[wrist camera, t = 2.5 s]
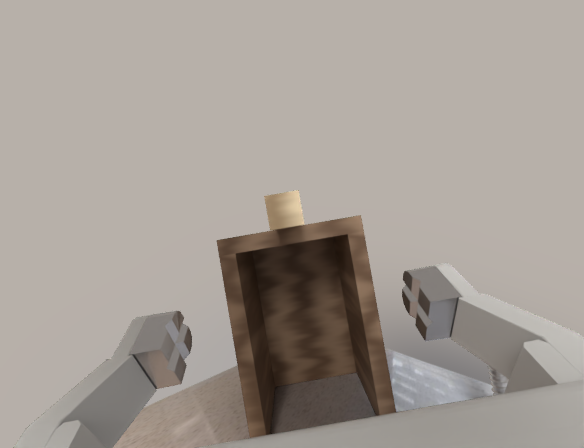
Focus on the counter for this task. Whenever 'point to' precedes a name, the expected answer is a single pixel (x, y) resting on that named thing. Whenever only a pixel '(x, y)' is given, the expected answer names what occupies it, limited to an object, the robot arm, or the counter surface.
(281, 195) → the tan wooden bar
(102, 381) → the robot arm
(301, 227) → the tall brown box
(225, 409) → the counter surface
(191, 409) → the counter surface
